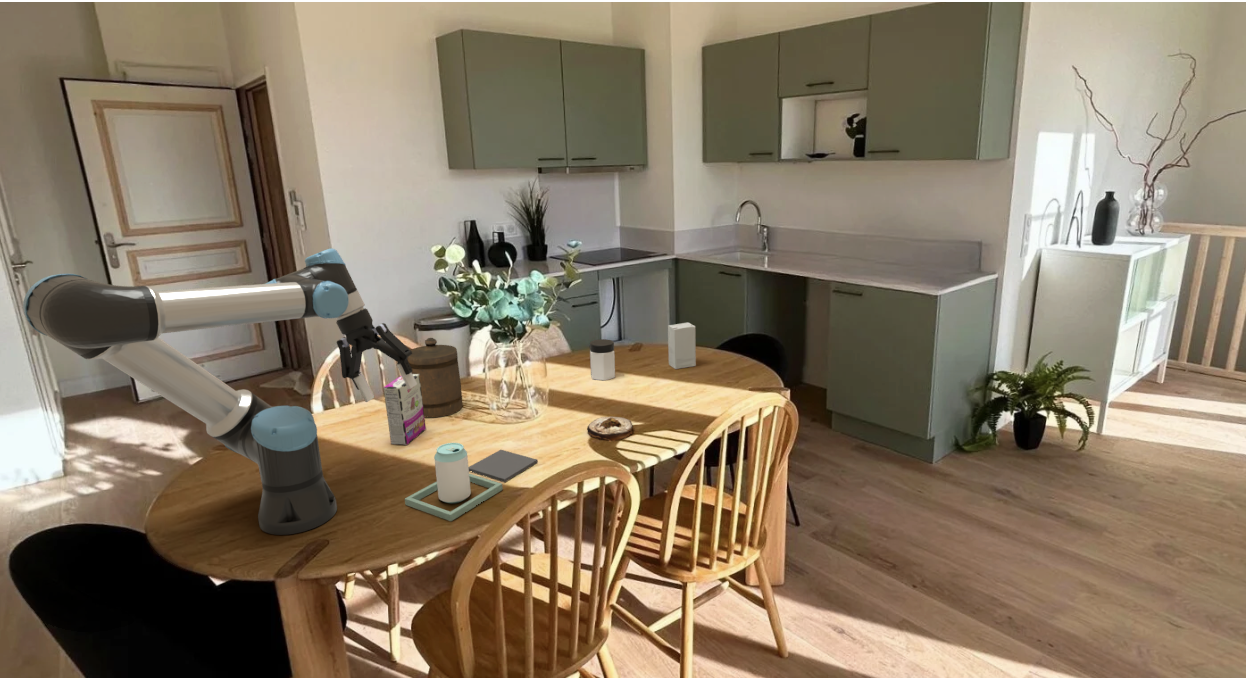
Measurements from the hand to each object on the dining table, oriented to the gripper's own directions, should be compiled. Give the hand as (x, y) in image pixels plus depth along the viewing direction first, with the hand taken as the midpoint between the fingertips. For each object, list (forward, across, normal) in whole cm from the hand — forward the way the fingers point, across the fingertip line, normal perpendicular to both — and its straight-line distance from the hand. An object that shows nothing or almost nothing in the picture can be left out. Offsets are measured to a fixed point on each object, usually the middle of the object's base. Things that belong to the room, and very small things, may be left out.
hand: (391, 393), depth 167 cm
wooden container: (+17, +18, -34) cm, 42 cm away
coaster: (+26, -18, -3) cm, 32 cm away
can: (+24, -15, +14) cm, 31 cm away
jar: (+34, -18, -74) cm, 83 cm away
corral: (+24, -15, +14) cm, 31 cm away
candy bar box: (+16, +14, -13) cm, 25 cm away
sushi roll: (+36, -35, -30) cm, 58 cm away
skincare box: (+43, -39, -91) cm, 108 cm away
